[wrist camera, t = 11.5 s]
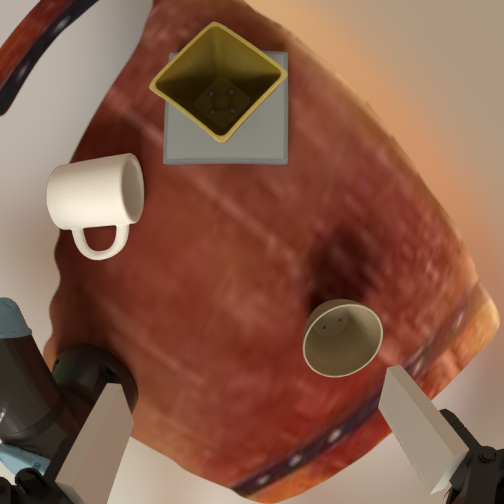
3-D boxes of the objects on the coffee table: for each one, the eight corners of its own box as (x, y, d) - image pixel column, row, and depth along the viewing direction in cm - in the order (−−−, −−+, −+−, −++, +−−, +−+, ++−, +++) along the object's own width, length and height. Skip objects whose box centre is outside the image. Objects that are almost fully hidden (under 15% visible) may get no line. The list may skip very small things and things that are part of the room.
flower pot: (278, 99, 31) (291, 72, 22) (227, 155, 32) (222, 145, 23) (220, 55, 29) (214, 18, 21) (169, 109, 31) (146, 86, 22)
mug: (76, 166, 34) (43, 164, 27) (143, 155, 35) (119, 149, 27) (84, 253, 37) (54, 269, 29) (150, 250, 37) (128, 266, 30)
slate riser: (168, 164, 35) (162, 163, 32) (174, 61, 32) (169, 52, 29) (284, 164, 35) (287, 163, 33) (284, 60, 32) (287, 51, 30)
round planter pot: (340, 269, 39) (360, 286, 32) (373, 321, 41) (394, 345, 34) (279, 313, 40) (286, 339, 33) (317, 361, 42) (329, 390, 35)
